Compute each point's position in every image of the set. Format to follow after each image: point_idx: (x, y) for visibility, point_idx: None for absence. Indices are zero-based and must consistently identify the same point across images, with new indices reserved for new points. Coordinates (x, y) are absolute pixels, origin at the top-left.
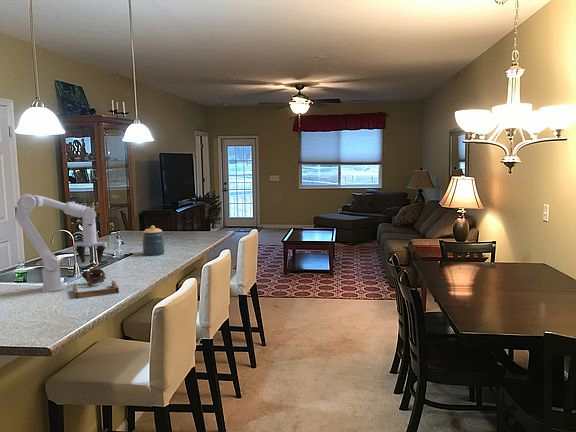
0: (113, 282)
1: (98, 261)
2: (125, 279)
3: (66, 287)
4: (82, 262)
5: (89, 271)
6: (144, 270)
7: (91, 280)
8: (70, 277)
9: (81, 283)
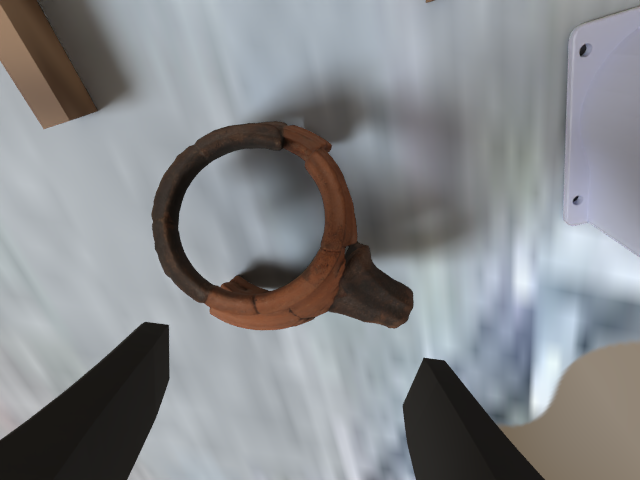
0: (6, 37)
1: (145, 333)
2: (74, 302)
3: (523, 147)
4: (436, 362)
5: (322, 255)
6: None
7: (287, 137)
8: (493, 412)
9: (404, 255)
